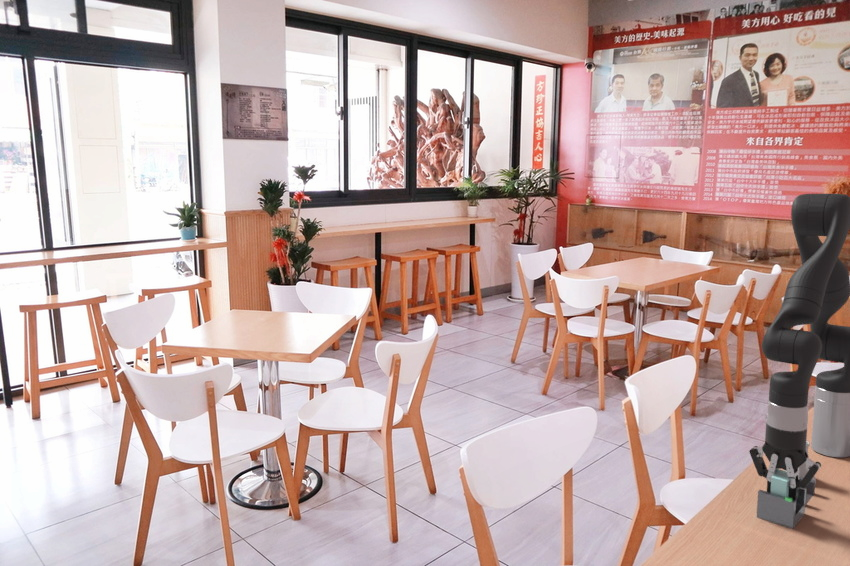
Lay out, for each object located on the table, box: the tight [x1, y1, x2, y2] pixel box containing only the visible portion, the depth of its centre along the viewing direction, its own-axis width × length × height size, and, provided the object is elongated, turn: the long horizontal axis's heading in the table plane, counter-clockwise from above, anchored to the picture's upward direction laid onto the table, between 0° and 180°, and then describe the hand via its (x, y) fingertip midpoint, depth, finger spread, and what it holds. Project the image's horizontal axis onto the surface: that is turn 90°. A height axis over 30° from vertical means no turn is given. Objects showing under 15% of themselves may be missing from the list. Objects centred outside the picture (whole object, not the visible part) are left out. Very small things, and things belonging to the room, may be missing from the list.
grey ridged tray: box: [799, 476, 816, 506], centre depth 147 cm, size 8×5×4 cm, turn 135°
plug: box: [770, 469, 790, 497], centre depth 139 cm, size 4×3×8 cm
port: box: [756, 488, 806, 530], centre depth 139 cm, size 8×7×7 cm
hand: (781, 499), depth 139 cm, fingers closed on plug, 3 cm apart
